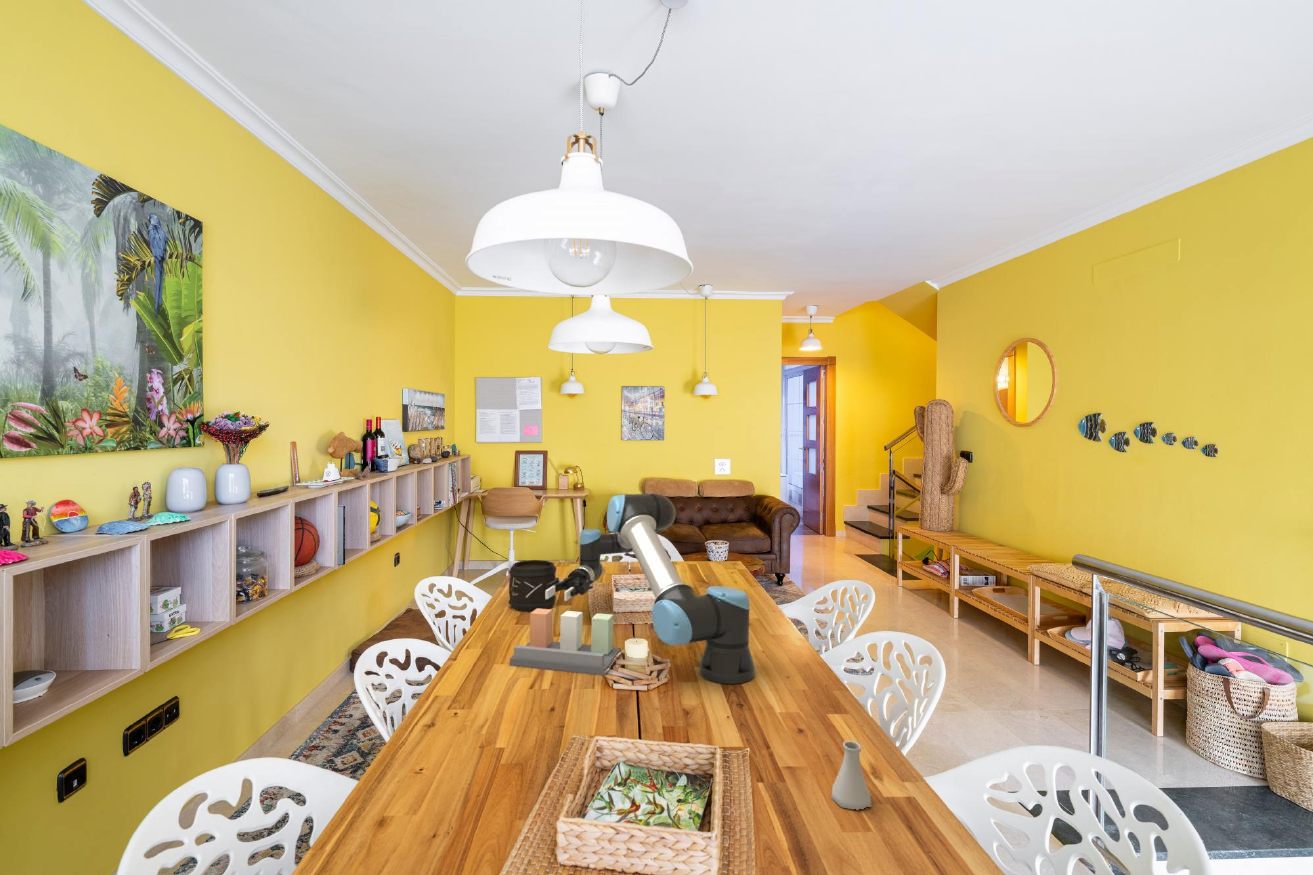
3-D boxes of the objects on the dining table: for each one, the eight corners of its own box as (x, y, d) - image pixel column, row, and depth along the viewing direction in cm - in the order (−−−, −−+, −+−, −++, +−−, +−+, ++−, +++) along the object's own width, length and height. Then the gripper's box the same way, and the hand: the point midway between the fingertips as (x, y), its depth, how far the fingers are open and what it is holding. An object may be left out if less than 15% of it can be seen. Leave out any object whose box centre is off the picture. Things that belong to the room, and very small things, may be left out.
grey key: (582, 645, 181) (582, 612, 181) (576, 651, 176) (576, 617, 176) (566, 644, 182) (566, 610, 182) (560, 649, 177) (560, 615, 177)
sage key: (612, 648, 179) (613, 614, 179) (607, 654, 174) (608, 619, 174) (596, 646, 180) (597, 613, 180) (591, 652, 175) (591, 618, 175)
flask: (863, 787, 115) (864, 734, 114) (878, 811, 107) (879, 755, 107) (825, 787, 114) (826, 734, 114) (838, 811, 107) (839, 755, 107)
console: (621, 654, 180) (621, 637, 180) (604, 675, 165) (605, 657, 165) (533, 645, 186) (533, 629, 186) (509, 665, 171) (509, 647, 171)
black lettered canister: (498, 605, 229) (498, 563, 229) (540, 596, 241) (540, 557, 241) (522, 616, 216) (522, 572, 216) (565, 607, 228) (565, 565, 227)
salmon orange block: (552, 642, 183) (552, 609, 183) (545, 648, 178) (546, 614, 178) (536, 641, 184) (537, 608, 184) (529, 646, 179) (530, 613, 179)
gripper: (605, 590, 213) (583, 609, 190) (555, 587, 217) (528, 605, 194) (606, 569, 212) (584, 585, 190) (556, 566, 217) (528, 581, 194)
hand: (556, 595), depth 192 cm, fingers open, 6 cm apart
